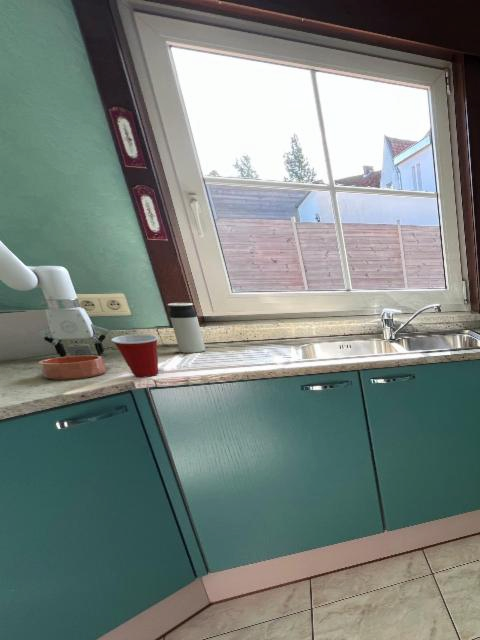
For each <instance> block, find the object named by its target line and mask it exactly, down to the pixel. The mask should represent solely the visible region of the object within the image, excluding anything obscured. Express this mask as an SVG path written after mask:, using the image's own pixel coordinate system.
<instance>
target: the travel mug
mask: <svg viewBox="0 0 480 640" xmlns="http://www.w3.org/2000/svg"><path fill="white" fill-rule="evenodd" d="M193 305H194V303H192V302H172V303H167V306H168V307H169V312H168V315H169V318H170V321H171V325H172V328H173V332H174V336H175V339H176V343H177V346H178V350H179V352H180V353H182V352H183V353H182V354H197V353H203V352H205V351H206V350H207V349H206V345H205V341H204V338H203V334H202V330H201V327H200V323H199V319H198V315H197V312H196V311H195V310H194V308H193Z"/></svg>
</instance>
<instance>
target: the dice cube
mask: <svg viewBox="0 0 480 640" xmlns="http://www.w3.org/2000/svg"><path fill="white" fill-rule="evenodd" d="M67 349H68V352H69V356H82V355H93V353H92V349H91V346H90V344H89V343H75V344H68V345H67Z"/></svg>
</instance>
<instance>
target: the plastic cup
mask: <svg viewBox="0 0 480 640" xmlns="http://www.w3.org/2000/svg"><path fill="white" fill-rule="evenodd" d="M158 339H159V336H157V335H154V334H127V335H119V336H115V337H112V338H111V339H110V340H111V342H112V343H113V344H115V346H116V347H117V350H119V352H120V354H121V356H122V358H123V359H124V361H125V363H126V365H127V366H128V367H129V369H130V371H131V373H132V375H133V376H134V377H135V376H136V378H146V377H145V376H149V377H154V376H153V375H155V376H158V375H159V359H158V348H157V347H158V345H157V344H158ZM157 374H158V375H157Z"/></svg>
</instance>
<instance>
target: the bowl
mask: <svg viewBox="0 0 480 640" xmlns="http://www.w3.org/2000/svg"><path fill="white" fill-rule="evenodd" d="M38 365H39V367H40V369H41V373H42V375H43V377H44V378H46V379H50V380H55V381H67V380H68V381H69V380H70V381H71V380H81V379H87V378H93V377H98V376H102V375H103V374H104V373H106V372H107V367H106V365H105V362H104V359H103V356H101V355H93V354H92V355H82V356H71V355H69V356H67V355H66V356H63V357H61V356H60V357H52V358H46V359H42V360H39V361H38Z"/></svg>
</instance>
